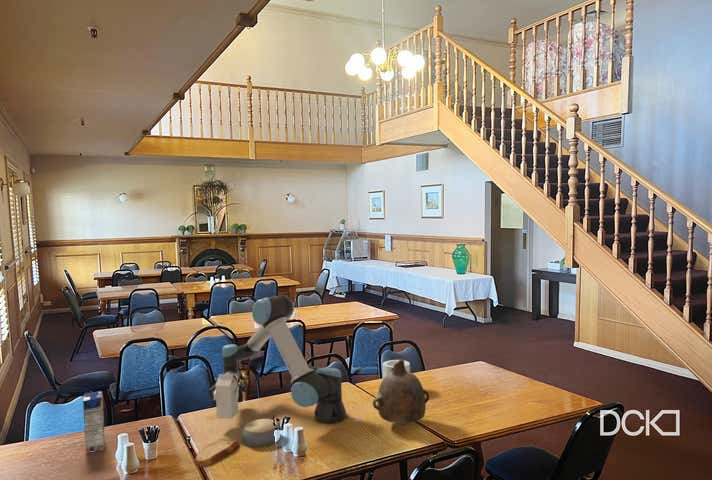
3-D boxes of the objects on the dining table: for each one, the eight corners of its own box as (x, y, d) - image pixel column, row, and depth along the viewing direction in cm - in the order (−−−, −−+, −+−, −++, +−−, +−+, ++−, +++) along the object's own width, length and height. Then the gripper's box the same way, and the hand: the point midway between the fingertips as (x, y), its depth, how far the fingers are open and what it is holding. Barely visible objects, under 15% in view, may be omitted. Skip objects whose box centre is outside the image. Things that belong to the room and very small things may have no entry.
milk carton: (231, 419, 219) (229, 376, 218) (217, 418, 220) (214, 376, 220) (238, 413, 226) (236, 372, 225) (224, 412, 227) (222, 372, 227)
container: (397, 397, 255) (396, 369, 254) (376, 390, 267) (375, 363, 266) (418, 389, 265) (417, 363, 265) (396, 383, 277) (395, 358, 277)
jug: (401, 411, 235) (398, 349, 234) (437, 422, 220) (435, 356, 219) (365, 427, 218) (363, 360, 217) (402, 440, 202) (400, 368, 202)
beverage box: (85, 453, 202) (83, 401, 202) (87, 443, 212) (84, 393, 212) (104, 449, 205) (101, 397, 205) (104, 440, 215) (102, 390, 215)
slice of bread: (196, 469, 186) (195, 459, 186) (192, 450, 202) (192, 441, 202) (243, 459, 192) (243, 449, 192) (236, 441, 209) (236, 432, 209)
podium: (287, 433, 214) (286, 420, 214) (268, 449, 199) (267, 434, 199) (255, 429, 220) (255, 416, 220) (235, 444, 205) (234, 430, 205)
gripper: (252, 386, 242) (251, 401, 220) (207, 391, 238) (200, 407, 216) (252, 371, 242) (250, 385, 220) (206, 376, 238) (200, 390, 216)
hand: (225, 396), depth 218 cm, fingers closed on milk carton, 9 cm apart
